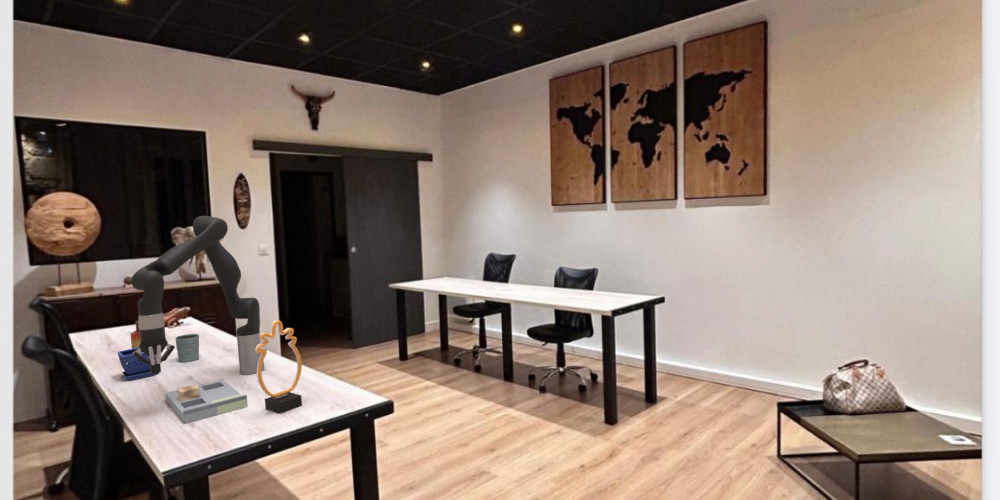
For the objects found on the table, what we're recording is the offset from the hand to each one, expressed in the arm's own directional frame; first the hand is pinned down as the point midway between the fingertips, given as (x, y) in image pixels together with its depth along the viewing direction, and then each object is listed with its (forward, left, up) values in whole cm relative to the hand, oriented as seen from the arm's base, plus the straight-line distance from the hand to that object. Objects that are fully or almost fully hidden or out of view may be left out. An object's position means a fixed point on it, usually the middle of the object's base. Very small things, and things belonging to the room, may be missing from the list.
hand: (156, 374), depth 186 cm
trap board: (-14, +3, -14) cm, 20 cm away
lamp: (-33, +30, -15) cm, 47 cm away
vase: (-9, -89, -15) cm, 91 cm away
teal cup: (-24, -72, -15) cm, 77 cm away
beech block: (-9, 0, -11) cm, 15 cm away
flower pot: (-2, -60, -15) cm, 62 cm away
